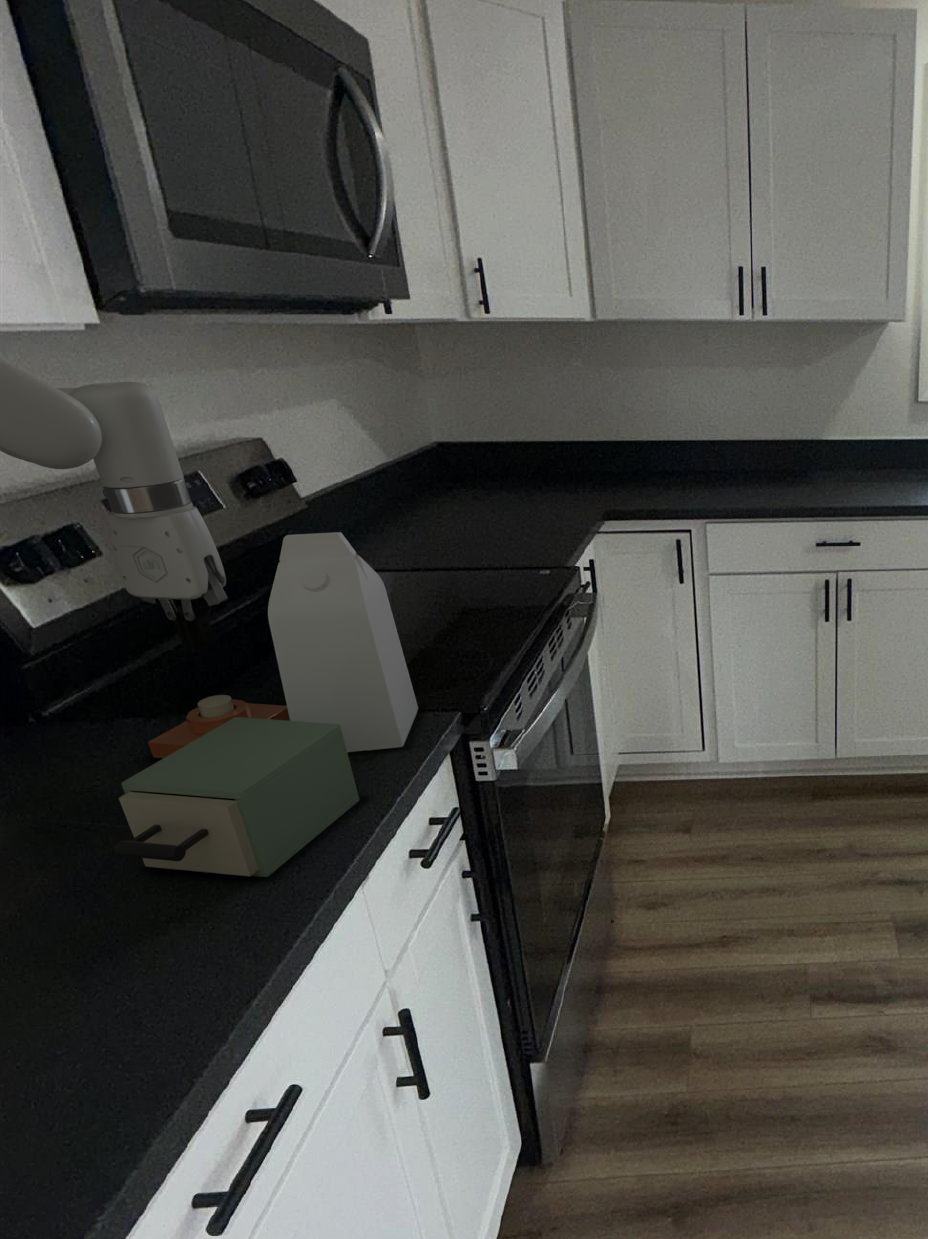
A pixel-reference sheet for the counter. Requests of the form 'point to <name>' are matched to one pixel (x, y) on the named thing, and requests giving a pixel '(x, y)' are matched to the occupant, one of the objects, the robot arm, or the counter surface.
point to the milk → (339, 643)
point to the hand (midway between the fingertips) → (200, 647)
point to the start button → (215, 706)
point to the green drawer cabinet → (264, 780)
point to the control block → (211, 725)
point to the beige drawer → (187, 833)
